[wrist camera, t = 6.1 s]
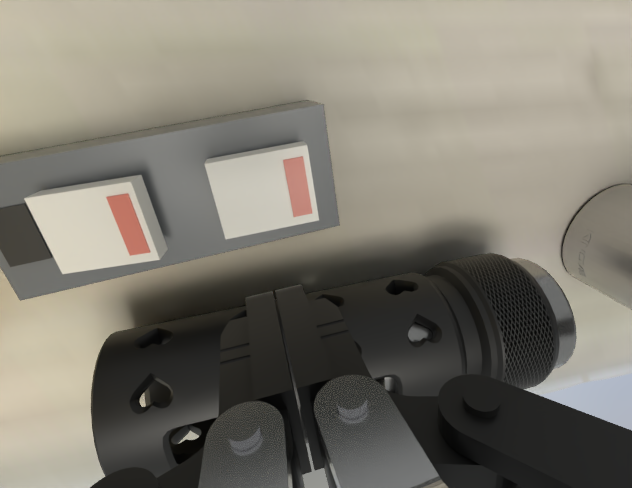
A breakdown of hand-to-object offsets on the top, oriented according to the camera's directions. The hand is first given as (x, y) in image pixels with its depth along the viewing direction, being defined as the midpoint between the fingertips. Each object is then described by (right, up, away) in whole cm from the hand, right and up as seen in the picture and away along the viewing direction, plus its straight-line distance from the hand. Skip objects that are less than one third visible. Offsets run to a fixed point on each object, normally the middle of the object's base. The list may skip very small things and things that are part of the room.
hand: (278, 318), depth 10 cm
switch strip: (-8, +6, +14) cm, 17 cm away
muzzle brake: (+2, -3, +20) cm, 20 cm away
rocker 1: (-9, +3, +9) cm, 13 cm away
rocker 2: (-2, +5, +10) cm, 11 cm away
